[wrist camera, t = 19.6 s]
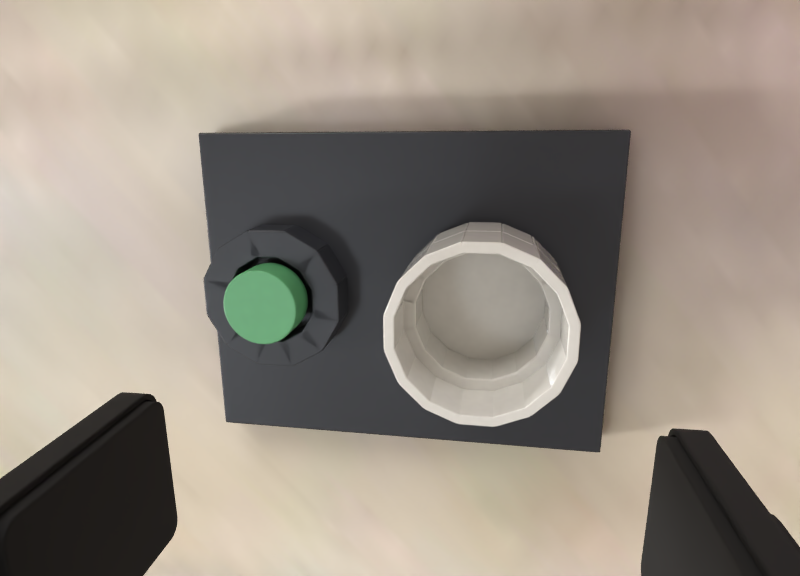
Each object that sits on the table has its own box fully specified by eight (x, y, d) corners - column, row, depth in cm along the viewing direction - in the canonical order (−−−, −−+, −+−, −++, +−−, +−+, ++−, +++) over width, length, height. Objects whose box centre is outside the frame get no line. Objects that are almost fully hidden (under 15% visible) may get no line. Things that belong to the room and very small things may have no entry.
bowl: (405, 366, 26) (384, 418, 21) (405, 218, 24) (381, 239, 19) (558, 376, 25) (572, 433, 20) (569, 221, 23) (587, 244, 18)
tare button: (242, 330, 26) (226, 342, 24) (236, 261, 25) (219, 269, 23) (310, 334, 25) (298, 346, 24) (306, 263, 24) (294, 271, 23)
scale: (237, 409, 30) (209, 438, 27) (213, 133, 26) (178, 132, 23) (595, 437, 27) (606, 473, 24) (623, 129, 23) (641, 129, 20)
